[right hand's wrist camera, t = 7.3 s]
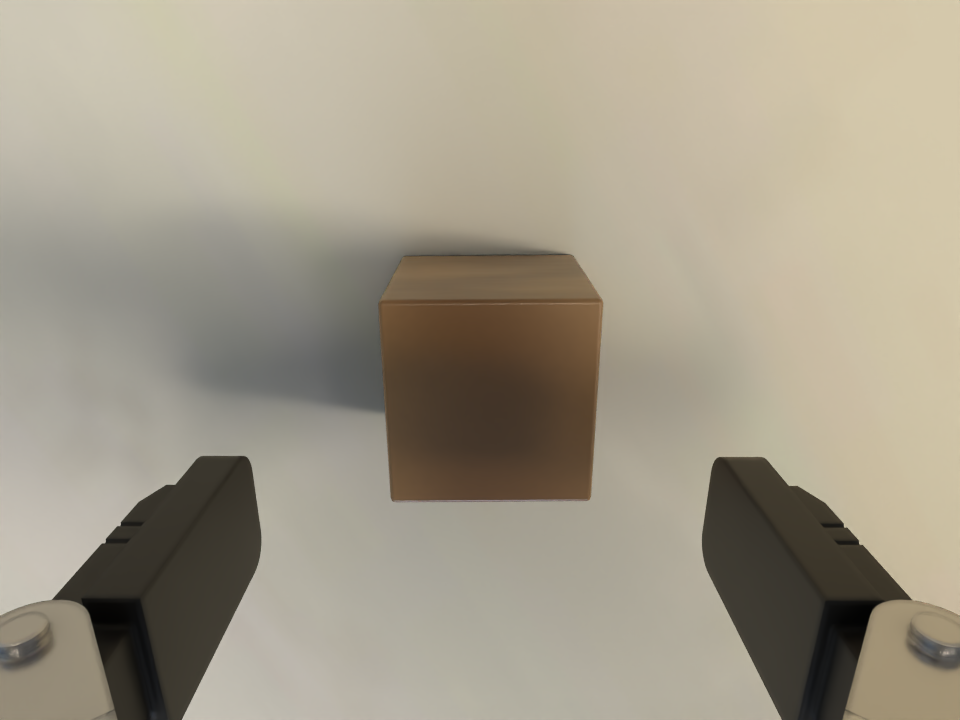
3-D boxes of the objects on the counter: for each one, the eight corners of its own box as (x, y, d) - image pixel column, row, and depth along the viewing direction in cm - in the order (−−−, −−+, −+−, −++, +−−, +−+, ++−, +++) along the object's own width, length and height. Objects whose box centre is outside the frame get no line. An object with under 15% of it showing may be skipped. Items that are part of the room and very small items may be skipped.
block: (574, 254, 16) (604, 299, 12) (566, 416, 18) (591, 502, 14) (401, 255, 16) (376, 300, 12) (410, 417, 18) (390, 503, 14)
